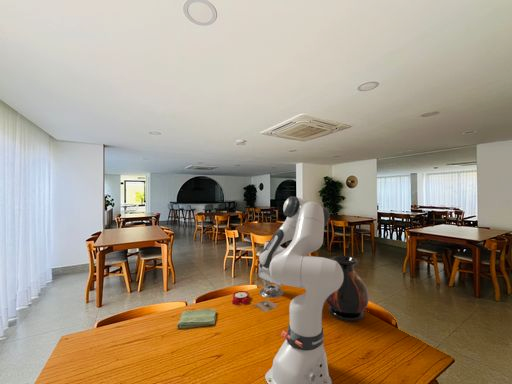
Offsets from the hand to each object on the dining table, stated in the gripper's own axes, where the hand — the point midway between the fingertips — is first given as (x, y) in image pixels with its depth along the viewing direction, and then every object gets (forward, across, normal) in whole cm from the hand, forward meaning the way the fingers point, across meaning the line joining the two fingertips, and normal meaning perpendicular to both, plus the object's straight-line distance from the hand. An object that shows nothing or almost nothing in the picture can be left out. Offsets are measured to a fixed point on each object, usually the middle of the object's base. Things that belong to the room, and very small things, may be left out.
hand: (271, 288), depth 133 cm
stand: (+4, -10, +14) cm, 18 cm away
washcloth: (+4, +4, +47) cm, 48 cm away
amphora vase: (+4, -42, -12) cm, 44 cm away
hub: (+4, 0, 0) cm, 4 cm away
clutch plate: (+2, 0, 0) cm, 2 cm away
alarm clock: (+4, +4, +20) cm, 21 cm away
